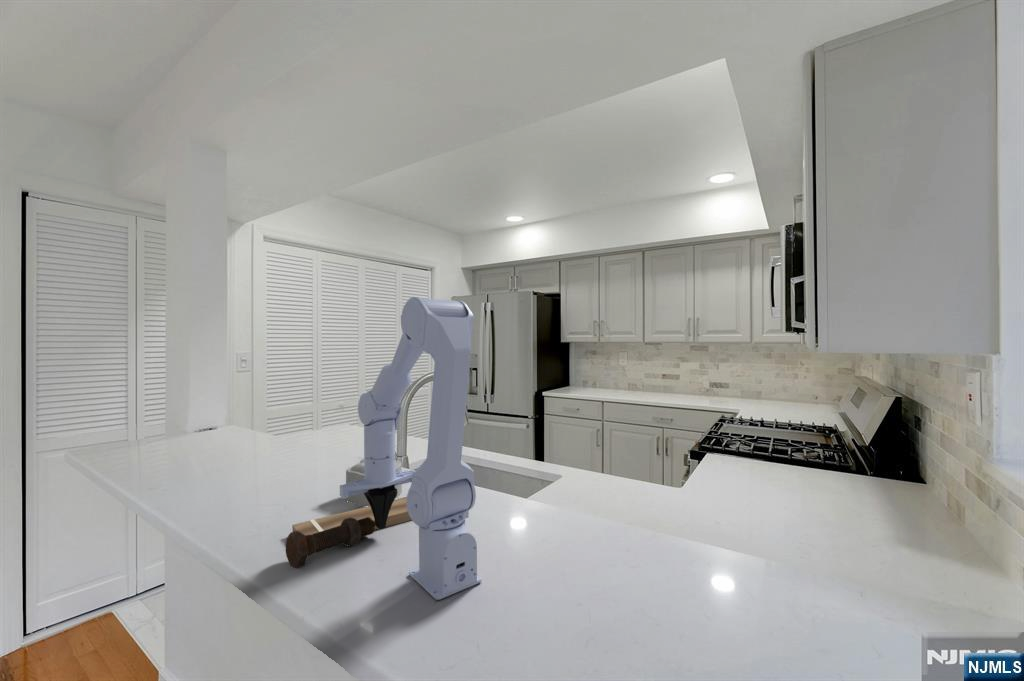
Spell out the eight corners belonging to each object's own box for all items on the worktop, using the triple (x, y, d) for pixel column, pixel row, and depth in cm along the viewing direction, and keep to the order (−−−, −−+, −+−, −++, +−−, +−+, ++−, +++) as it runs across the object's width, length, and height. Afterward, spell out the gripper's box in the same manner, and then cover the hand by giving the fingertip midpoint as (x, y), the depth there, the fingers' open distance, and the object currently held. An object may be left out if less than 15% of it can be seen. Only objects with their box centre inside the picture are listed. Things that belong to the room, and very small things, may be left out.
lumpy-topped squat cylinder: (340, 500, 103) (340, 463, 103) (383, 484, 114) (383, 451, 114) (369, 509, 98) (368, 470, 98) (412, 492, 109) (412, 457, 109)
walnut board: (424, 516, 93) (424, 506, 93) (303, 550, 78) (302, 538, 78) (408, 505, 100) (407, 496, 100) (292, 535, 85) (292, 524, 85)
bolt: (373, 545, 84) (293, 575, 73) (361, 526, 87) (282, 551, 75) (382, 523, 82) (301, 549, 71) (370, 504, 85) (290, 526, 74)
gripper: (406, 445, 91) (406, 510, 91) (334, 457, 82) (334, 530, 82) (421, 452, 86) (422, 521, 86) (346, 466, 77) (347, 543, 77)
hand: (380, 526), depth 84 cm, fingers closed
